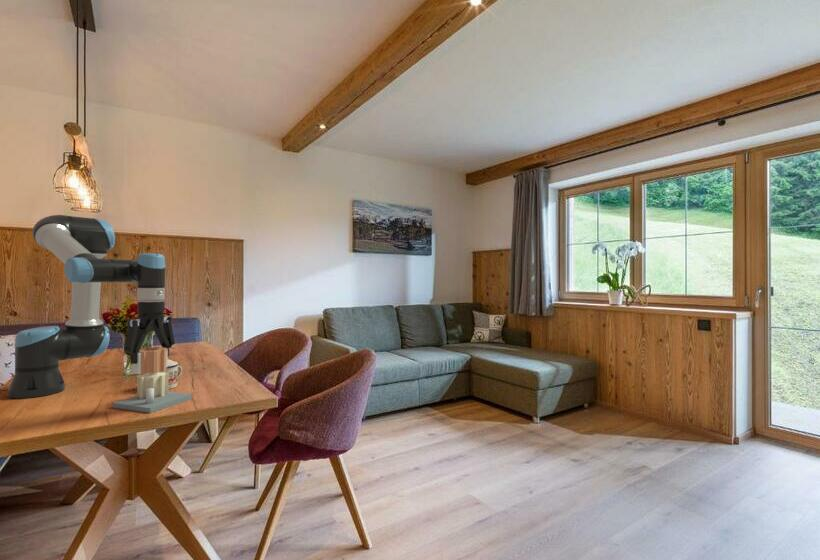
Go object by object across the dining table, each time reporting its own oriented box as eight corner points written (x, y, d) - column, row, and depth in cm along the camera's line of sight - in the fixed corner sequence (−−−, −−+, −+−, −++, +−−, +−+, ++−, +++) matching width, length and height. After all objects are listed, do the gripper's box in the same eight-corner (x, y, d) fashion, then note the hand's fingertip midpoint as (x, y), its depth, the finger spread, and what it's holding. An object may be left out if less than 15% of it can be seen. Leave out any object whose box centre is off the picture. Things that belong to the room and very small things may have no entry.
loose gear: (127, 372, 128) (127, 350, 128) (152, 367, 136) (152, 346, 136) (148, 375, 125) (148, 352, 125) (172, 369, 133) (172, 348, 133)
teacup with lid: (162, 391, 148) (162, 360, 148) (144, 389, 151) (144, 358, 151) (189, 384, 160) (190, 354, 159) (172, 381, 163) (173, 352, 162)
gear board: (111, 407, 130) (111, 376, 130) (155, 393, 145) (156, 366, 145) (150, 413, 125) (150, 381, 125) (192, 398, 141) (192, 370, 141)
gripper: (127, 303, 119) (126, 379, 119) (187, 299, 140) (186, 364, 140) (109, 302, 121) (108, 377, 121) (170, 299, 142) (170, 363, 142)
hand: (150, 370), depth 131 cm, fingers closed on loose gear, 9 cm apart
